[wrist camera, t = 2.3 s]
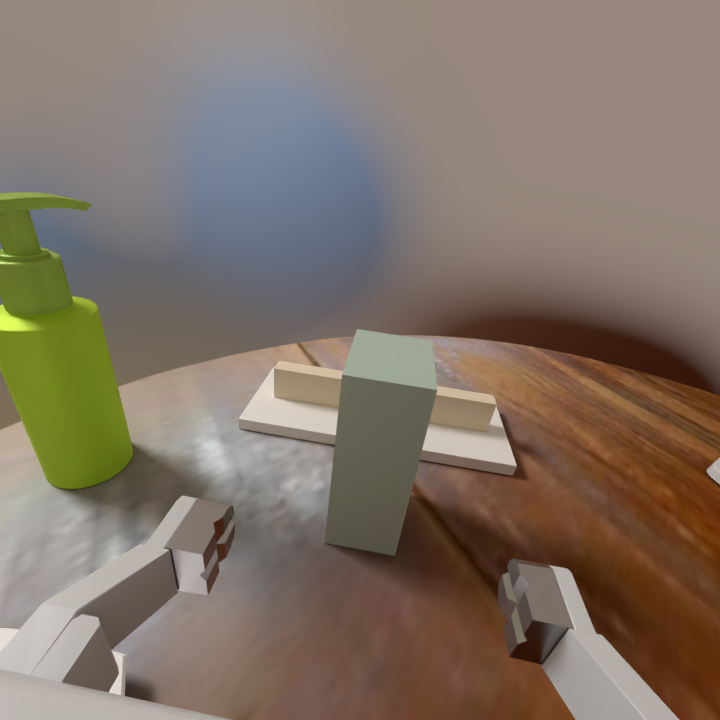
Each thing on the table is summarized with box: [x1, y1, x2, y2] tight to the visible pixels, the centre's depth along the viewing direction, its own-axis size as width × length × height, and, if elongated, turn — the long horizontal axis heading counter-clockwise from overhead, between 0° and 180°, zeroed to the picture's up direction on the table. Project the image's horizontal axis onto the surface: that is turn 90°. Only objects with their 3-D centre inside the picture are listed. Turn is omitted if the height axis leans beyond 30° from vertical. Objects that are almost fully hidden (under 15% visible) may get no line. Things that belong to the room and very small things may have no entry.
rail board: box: [239, 361, 517, 476], centre depth 38 cm, size 26×10×5 cm, turn 83°
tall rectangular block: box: [325, 329, 437, 556], centre depth 25 cm, size 5×6×14 cm
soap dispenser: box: [0, 192, 133, 489], centre depth 26 cm, size 6×7×20 cm
